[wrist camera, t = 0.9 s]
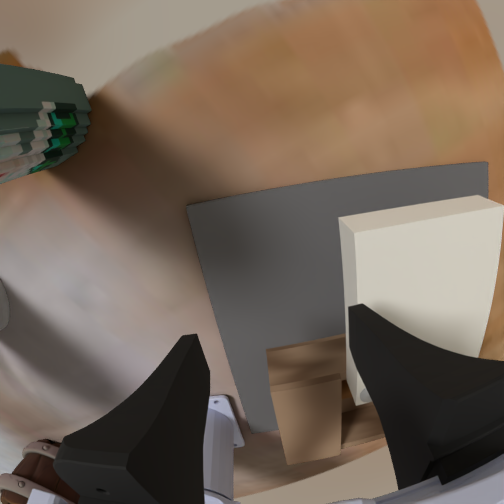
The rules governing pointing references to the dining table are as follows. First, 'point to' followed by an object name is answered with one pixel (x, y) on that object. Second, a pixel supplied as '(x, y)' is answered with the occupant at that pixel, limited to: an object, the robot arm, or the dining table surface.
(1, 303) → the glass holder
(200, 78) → the dining table surface
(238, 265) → the desk mat
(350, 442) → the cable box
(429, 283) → the lid
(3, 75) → the can
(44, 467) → the flowerpot
